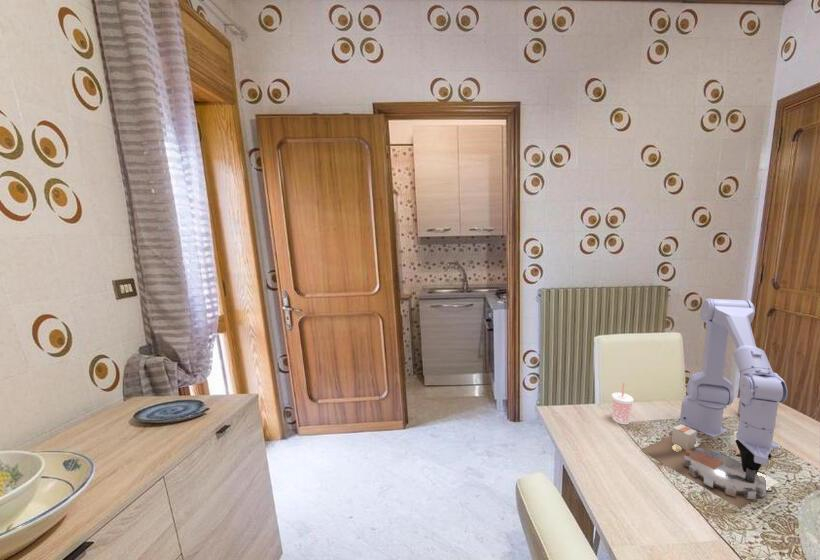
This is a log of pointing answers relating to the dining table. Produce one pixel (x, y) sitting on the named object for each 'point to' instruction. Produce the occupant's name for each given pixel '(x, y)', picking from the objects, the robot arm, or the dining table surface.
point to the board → (675, 461)
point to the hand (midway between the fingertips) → (749, 472)
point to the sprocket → (724, 473)
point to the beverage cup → (622, 407)
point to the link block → (684, 437)
